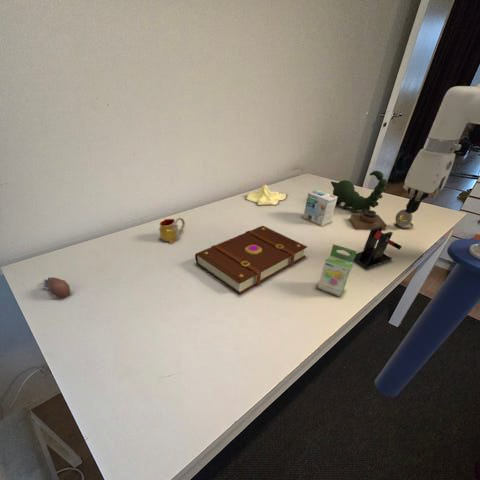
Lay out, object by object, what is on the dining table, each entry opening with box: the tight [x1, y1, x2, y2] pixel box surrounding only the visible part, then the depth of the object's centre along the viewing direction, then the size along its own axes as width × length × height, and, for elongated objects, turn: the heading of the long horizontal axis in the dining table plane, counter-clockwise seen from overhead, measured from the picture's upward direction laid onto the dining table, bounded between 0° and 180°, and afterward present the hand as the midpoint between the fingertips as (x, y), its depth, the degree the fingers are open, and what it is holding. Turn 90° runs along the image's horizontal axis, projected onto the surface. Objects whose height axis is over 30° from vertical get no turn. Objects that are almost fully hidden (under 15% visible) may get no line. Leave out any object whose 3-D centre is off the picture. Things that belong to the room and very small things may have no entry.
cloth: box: [245, 184, 287, 206], centre depth 131 cm, size 22×19×6 cm
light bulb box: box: [303, 189, 338, 227], centre depth 112 cm, size 11×7×11 cm, turn 40°
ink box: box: [317, 244, 358, 297], centre depth 75 cm, size 7×4×13 cm, turn 56°
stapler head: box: [373, 231, 403, 251], centre depth 90 cm, size 13×6×2 cm, turn 119°
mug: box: [158, 217, 186, 244], centre depth 100 cm, size 12×7×7 cm, turn 144°
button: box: [365, 209, 377, 218], centre depth 110 cm, size 4×4×2 cm
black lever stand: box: [353, 227, 394, 271], centre depth 89 cm, size 12×8×11 cm, turn 118°
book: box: [194, 225, 308, 295], centre depth 89 cm, size 23×32×5 cm
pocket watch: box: [394, 204, 415, 230], centre depth 109 cm, size 8×8×10 cm
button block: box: [349, 212, 387, 231], centre depth 112 cm, size 12×10×4 cm
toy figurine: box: [330, 170, 389, 214], centre depth 119 cm, size 9×19×25 cm
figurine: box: [40, 276, 71, 299], centre depth 76 cm, size 6×5×12 cm
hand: (410, 212), depth 85 cm, fingers closed
